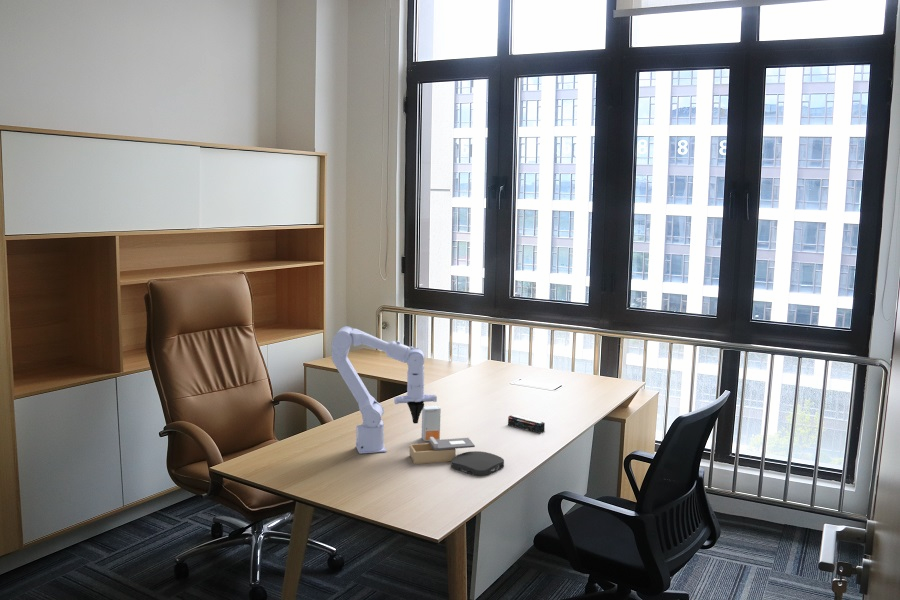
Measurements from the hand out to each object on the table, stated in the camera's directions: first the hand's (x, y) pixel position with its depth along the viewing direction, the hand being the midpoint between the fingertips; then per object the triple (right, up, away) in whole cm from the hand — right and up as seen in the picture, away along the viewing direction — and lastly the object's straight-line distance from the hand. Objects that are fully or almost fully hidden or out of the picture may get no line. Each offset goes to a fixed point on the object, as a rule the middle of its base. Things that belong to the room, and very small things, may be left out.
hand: (415, 422), depth 266 cm
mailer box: (+6, -11, -6) cm, 14 cm away
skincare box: (+5, -8, +13) cm, 16 cm away
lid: (+12, -7, -5) cm, 15 cm away
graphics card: (+40, -7, +30) cm, 50 cm away
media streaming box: (+21, -13, -12) cm, 28 cm away
